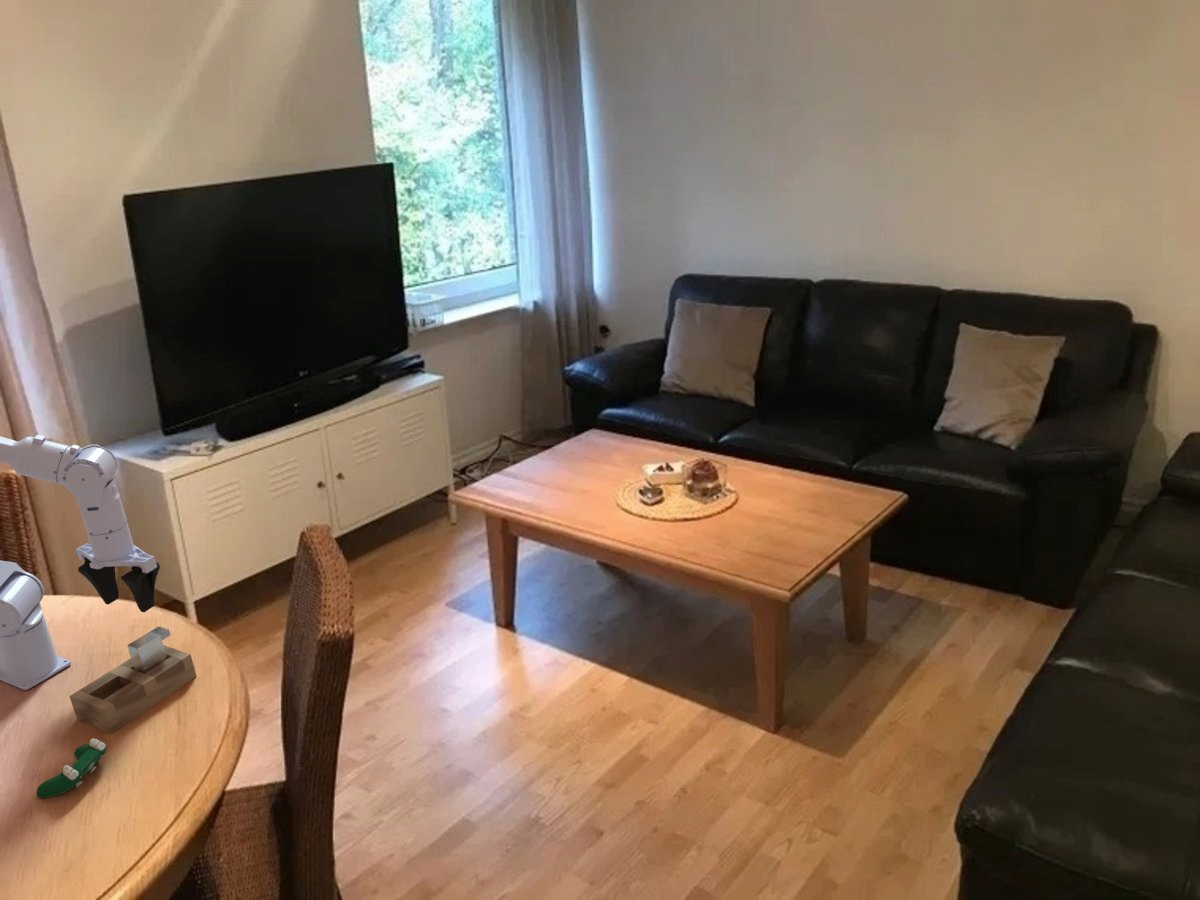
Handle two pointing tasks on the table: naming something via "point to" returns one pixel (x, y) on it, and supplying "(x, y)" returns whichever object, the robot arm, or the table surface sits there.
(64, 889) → the table surface
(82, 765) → the green elongated piece
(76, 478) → the robot arm
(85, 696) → the tan divided tray
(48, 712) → the table surface
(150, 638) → the white rectangular pillar
